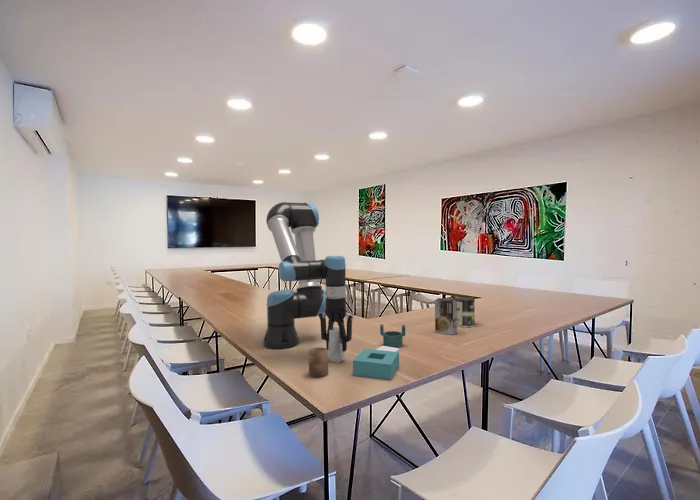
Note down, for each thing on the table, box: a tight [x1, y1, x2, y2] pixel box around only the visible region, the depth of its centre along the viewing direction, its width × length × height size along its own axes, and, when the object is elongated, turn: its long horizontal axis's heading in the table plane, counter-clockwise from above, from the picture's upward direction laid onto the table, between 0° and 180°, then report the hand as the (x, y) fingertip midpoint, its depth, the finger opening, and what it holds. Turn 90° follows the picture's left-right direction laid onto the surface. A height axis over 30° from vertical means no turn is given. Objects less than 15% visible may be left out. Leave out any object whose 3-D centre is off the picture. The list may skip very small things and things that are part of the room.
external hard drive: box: [375, 345, 401, 353], centre depth 137 cm, size 2×8×12 cm
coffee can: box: [453, 296, 476, 328], centre depth 181 cm, size 10×10×14 cm
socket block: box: [352, 348, 400, 381], centre depth 119 cm, size 13×13×5 cm
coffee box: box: [434, 297, 458, 336], centre depth 166 cm, size 9×6×16 cm
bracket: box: [379, 324, 406, 349], centre depth 148 cm, size 9×9×9 cm
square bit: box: [329, 326, 342, 364], centre depth 130 cm, size 4×4×12 cm
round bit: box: [308, 347, 329, 379], centre depth 117 cm, size 6×6×8 cm
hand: (336, 358), depth 130 cm, fingers closed on square bit, 4 cm apart
